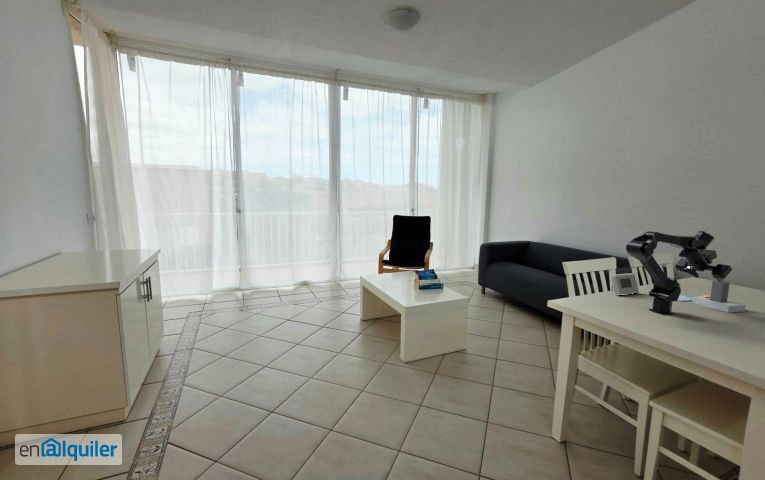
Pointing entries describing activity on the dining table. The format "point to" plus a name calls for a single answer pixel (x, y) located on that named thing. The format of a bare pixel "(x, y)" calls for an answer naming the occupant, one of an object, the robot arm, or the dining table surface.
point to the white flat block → (719, 304)
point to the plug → (719, 291)
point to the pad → (683, 298)
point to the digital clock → (624, 284)
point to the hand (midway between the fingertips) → (709, 279)
